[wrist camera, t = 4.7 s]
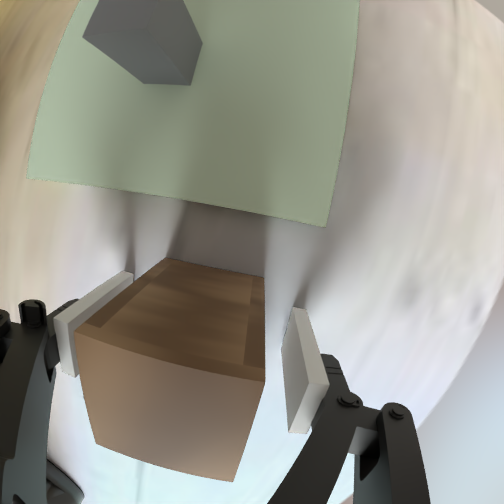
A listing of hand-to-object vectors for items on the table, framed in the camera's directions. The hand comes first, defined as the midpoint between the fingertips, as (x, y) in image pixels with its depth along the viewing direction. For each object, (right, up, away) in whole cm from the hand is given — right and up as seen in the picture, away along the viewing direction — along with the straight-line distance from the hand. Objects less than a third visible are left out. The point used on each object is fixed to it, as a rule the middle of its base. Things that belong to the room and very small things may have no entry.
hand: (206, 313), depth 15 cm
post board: (-1, +13, -3) cm, 14 cm away
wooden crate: (0, 0, 0) cm, 0 cm away
